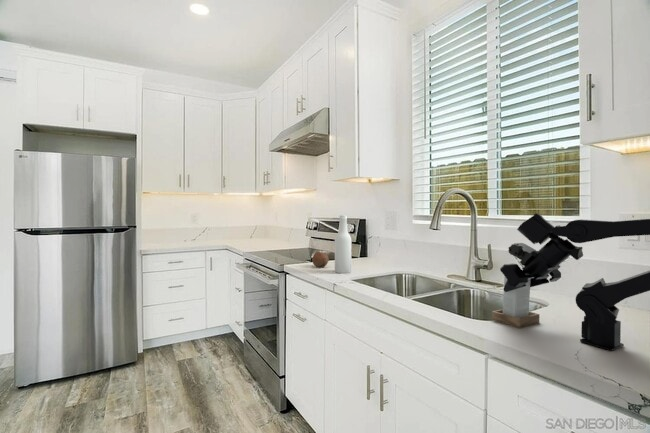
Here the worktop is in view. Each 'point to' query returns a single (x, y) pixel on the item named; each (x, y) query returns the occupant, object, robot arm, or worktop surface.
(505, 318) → the walnut tray
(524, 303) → the skincare box
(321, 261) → the onion
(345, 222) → the alcohol
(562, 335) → the worktop surface
